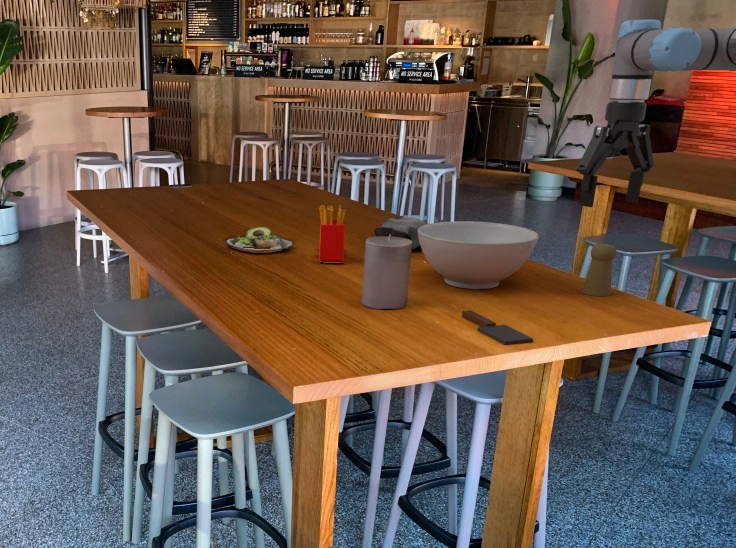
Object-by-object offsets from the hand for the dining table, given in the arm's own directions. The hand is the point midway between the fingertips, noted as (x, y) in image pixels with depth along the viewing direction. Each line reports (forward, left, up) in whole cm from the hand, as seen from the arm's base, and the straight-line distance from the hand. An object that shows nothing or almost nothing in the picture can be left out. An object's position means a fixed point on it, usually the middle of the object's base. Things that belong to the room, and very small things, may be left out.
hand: (609, 204), depth 173 cm
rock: (+55, +20, -20) cm, 62 cm away
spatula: (-19, +39, -19) cm, 47 cm away
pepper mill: (-2, +1, -20) cm, 20 cm away
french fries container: (+45, +46, -20) cm, 67 cm away
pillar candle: (+3, +51, -20) cm, 55 cm away
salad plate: (+66, +59, -20) cm, 91 cm away
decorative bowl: (+14, +23, -20) cm, 33 cm away
